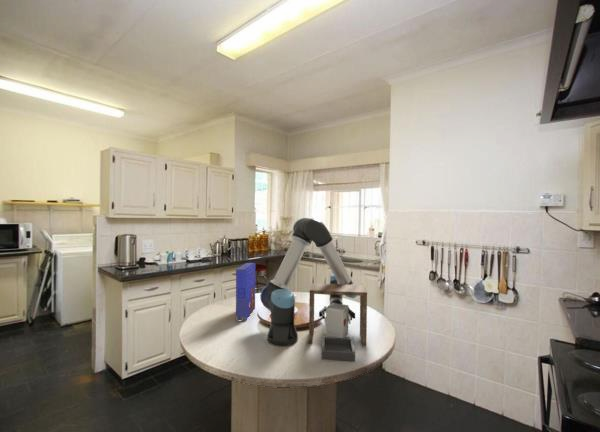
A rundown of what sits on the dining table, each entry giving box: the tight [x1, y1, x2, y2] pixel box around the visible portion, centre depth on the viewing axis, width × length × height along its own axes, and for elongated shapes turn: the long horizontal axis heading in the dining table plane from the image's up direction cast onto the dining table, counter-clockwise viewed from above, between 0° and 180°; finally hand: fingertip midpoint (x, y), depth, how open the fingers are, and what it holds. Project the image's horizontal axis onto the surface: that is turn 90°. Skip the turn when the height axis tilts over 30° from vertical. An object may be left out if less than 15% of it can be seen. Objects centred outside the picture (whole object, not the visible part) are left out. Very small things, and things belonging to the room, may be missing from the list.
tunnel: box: [308, 282, 368, 347], centre depth 142 cm, size 27×14×26 cm, turn 84°
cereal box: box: [235, 262, 256, 322], centre depth 174 cm, size 22×6×30 cm, turn 175°
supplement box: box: [325, 303, 350, 338], centre depth 140 cm, size 9×9×15 cm
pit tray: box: [321, 336, 356, 362], centre depth 127 cm, size 14×14×4 cm
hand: (337, 320), depth 138 cm, fingers closed on supplement box, 11 cm apart
